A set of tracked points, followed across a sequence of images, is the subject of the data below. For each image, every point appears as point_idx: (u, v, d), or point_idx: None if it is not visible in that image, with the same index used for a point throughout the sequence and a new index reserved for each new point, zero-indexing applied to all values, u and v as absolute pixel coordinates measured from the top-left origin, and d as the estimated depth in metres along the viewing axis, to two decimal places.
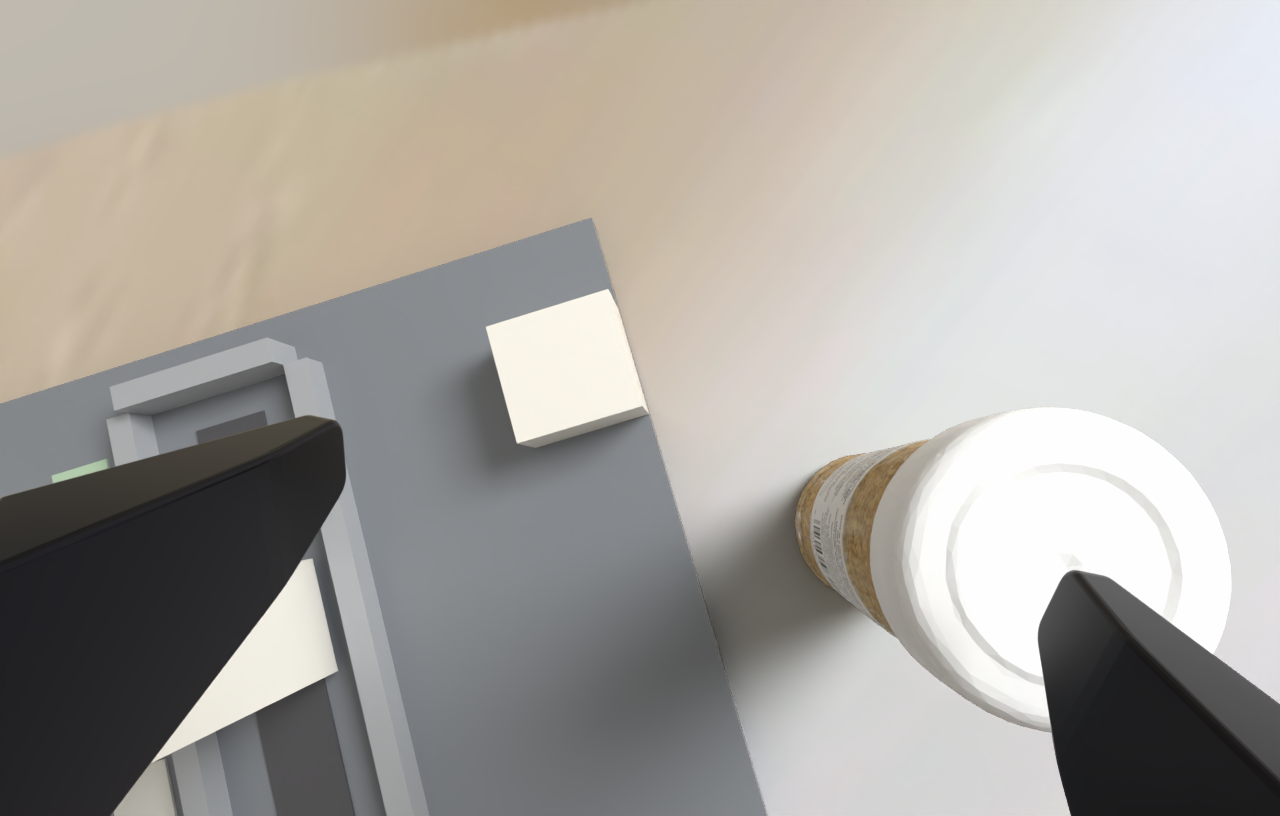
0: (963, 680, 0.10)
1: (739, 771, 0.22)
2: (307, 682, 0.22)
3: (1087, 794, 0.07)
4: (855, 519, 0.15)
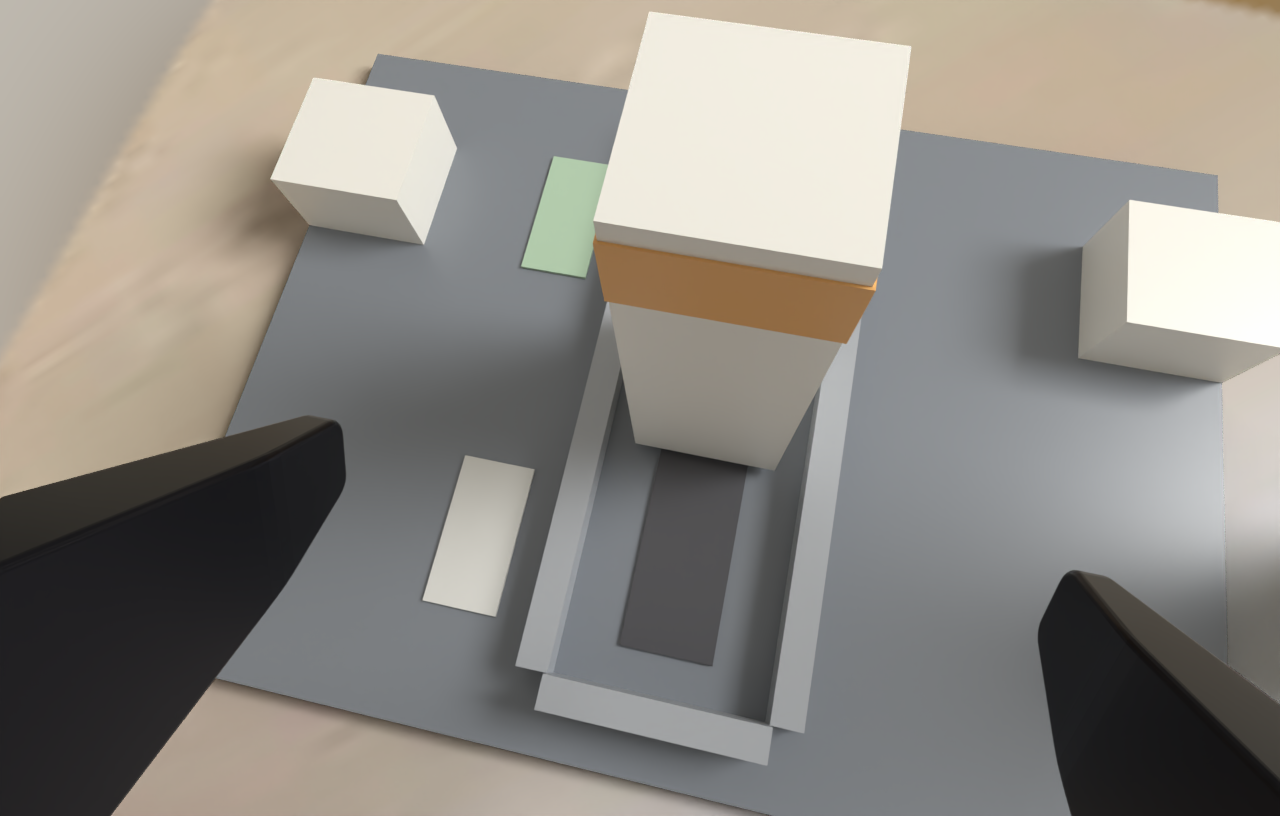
0: None
1: None
2: None
3: (1087, 794, 0.07)
4: None
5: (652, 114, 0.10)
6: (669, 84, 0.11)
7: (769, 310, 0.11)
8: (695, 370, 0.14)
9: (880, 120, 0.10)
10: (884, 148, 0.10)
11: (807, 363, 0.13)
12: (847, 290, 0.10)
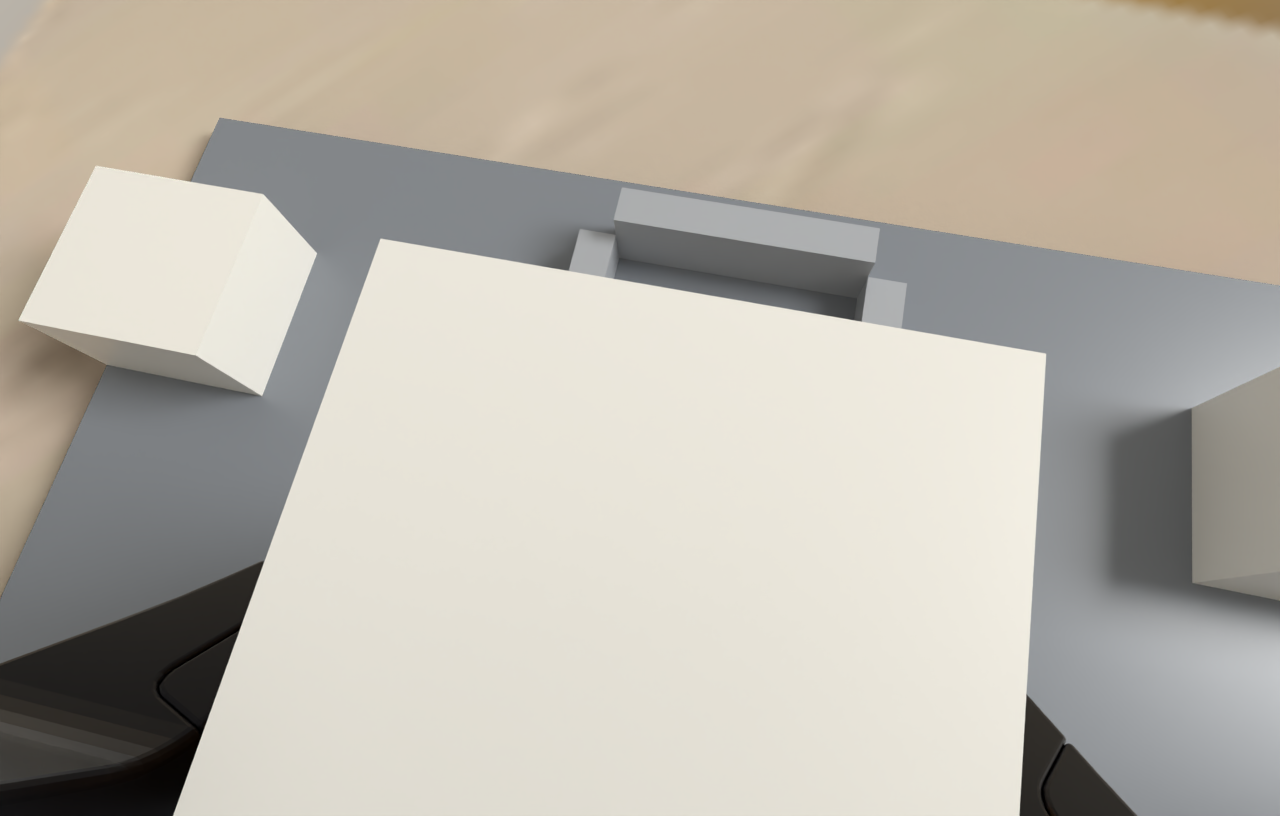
0: None
1: None
2: None
3: None
4: None
5: (349, 551, 0.04)
6: (405, 456, 0.04)
7: None
8: None
9: (971, 589, 0.04)
10: (986, 691, 0.04)
11: None
12: None
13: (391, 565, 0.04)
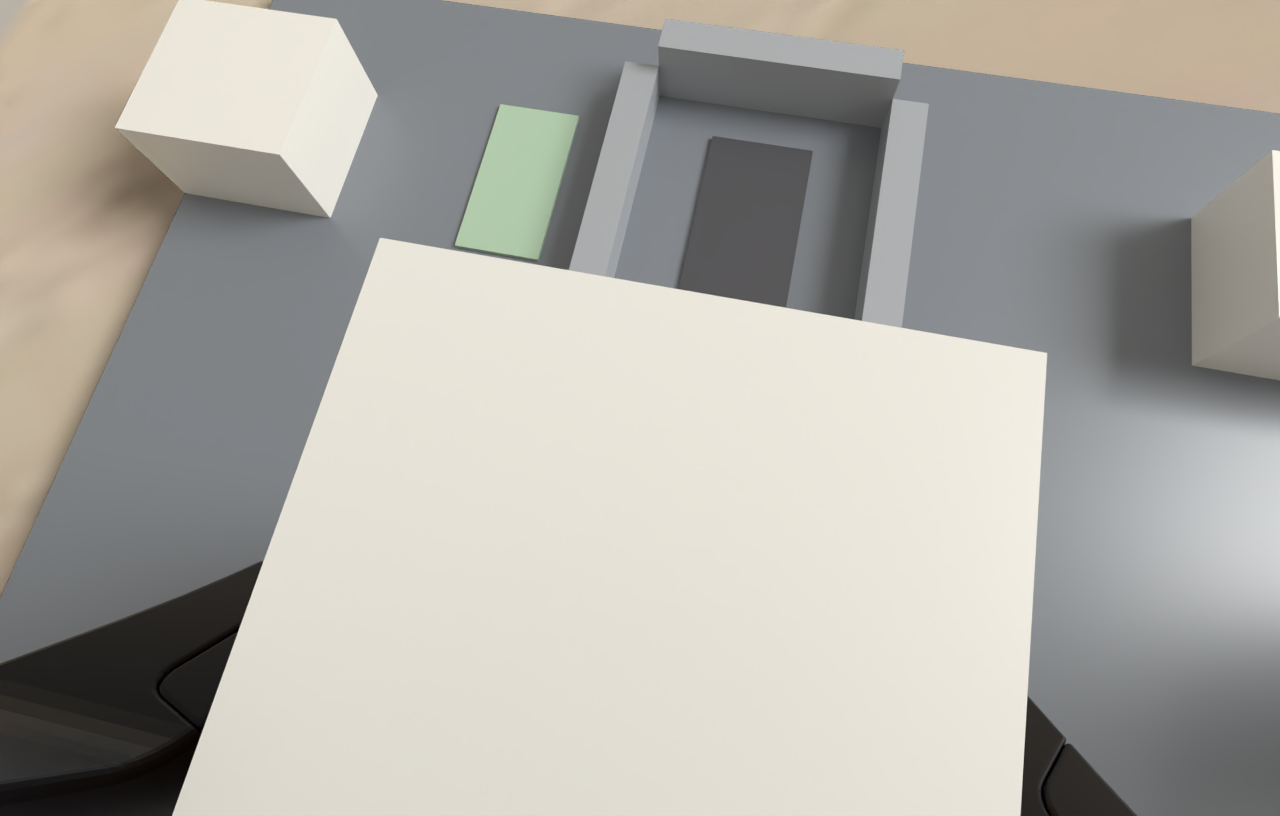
0: None
1: None
2: None
3: None
4: None
5: (348, 551, 0.04)
6: (404, 456, 0.04)
7: None
8: None
9: (972, 590, 0.04)
10: (987, 691, 0.04)
11: None
12: None
13: (390, 565, 0.04)
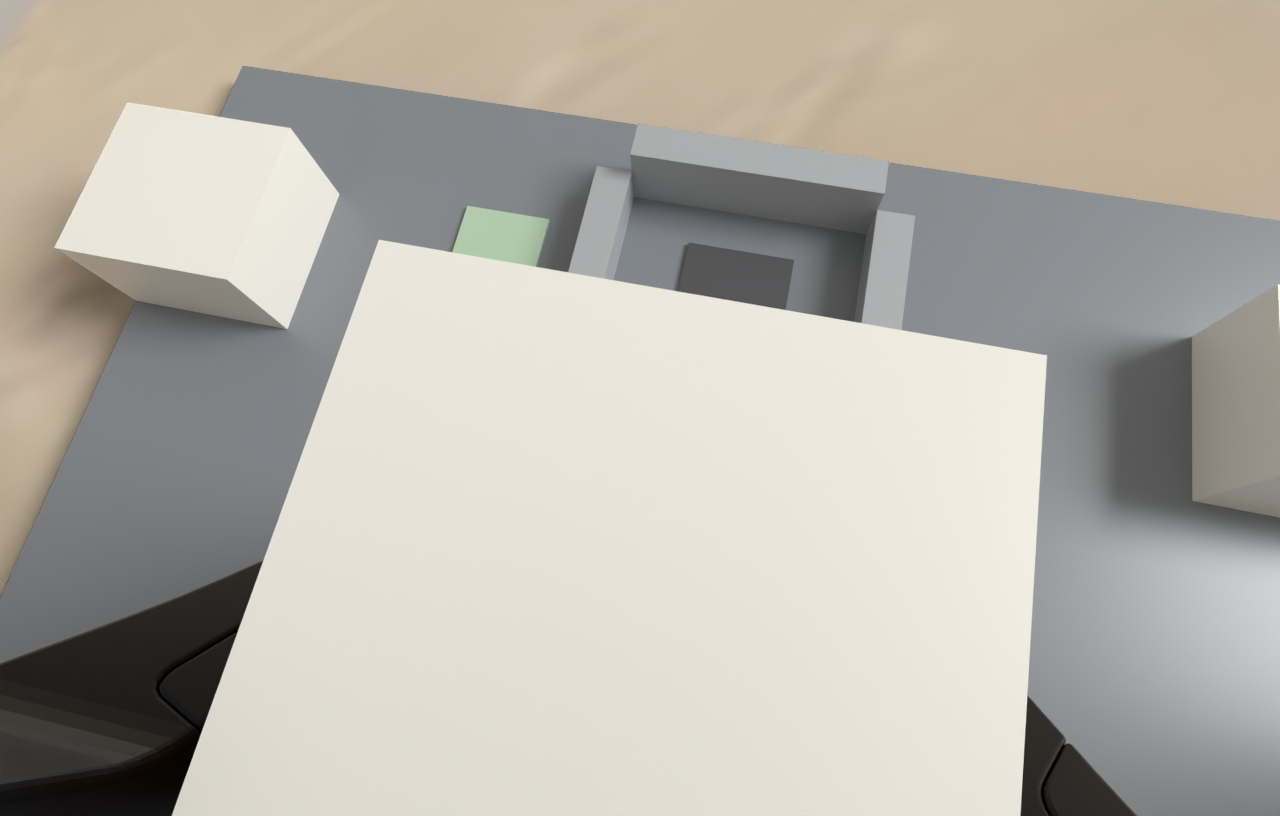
0: None
1: None
2: None
3: None
4: None
5: (347, 554, 0.04)
6: (403, 458, 0.04)
7: None
8: None
9: (974, 594, 0.04)
10: (987, 694, 0.04)
11: None
12: None
13: (389, 568, 0.04)
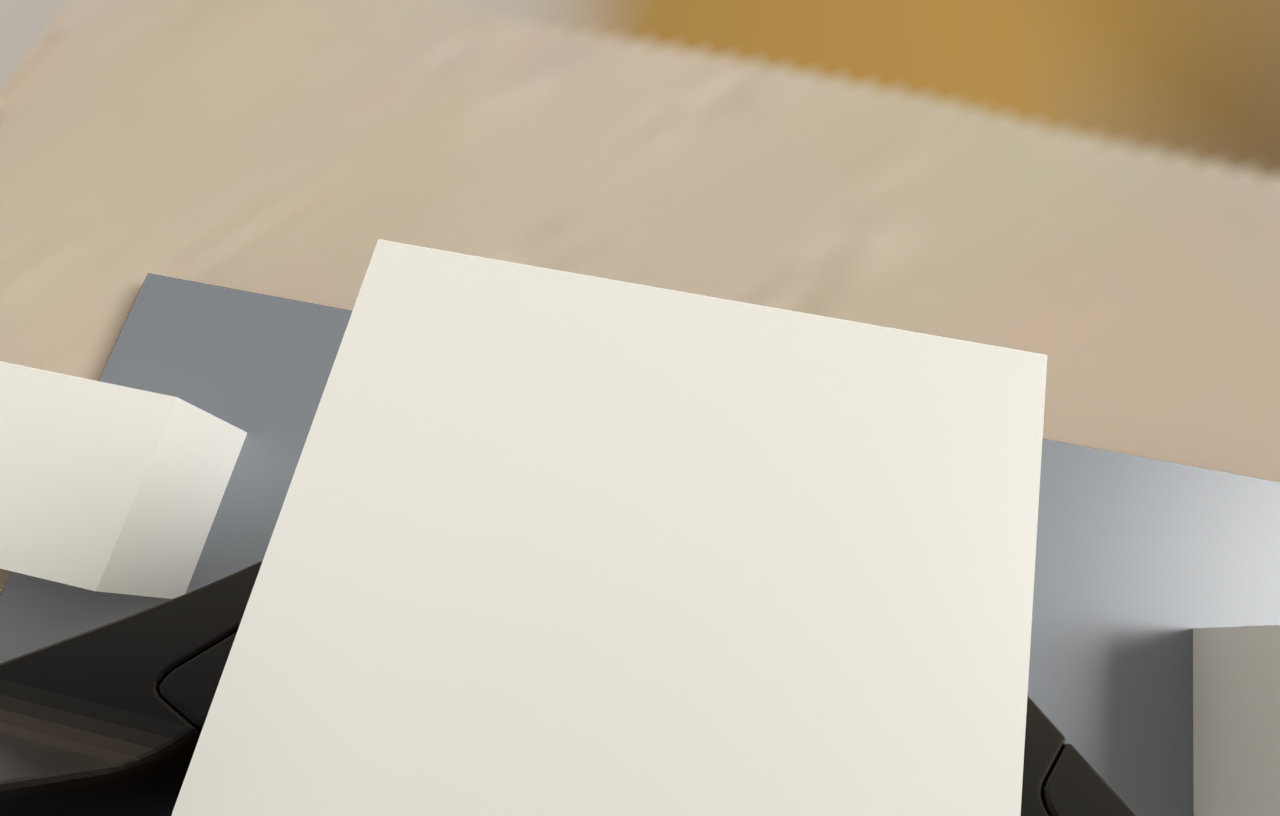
0: None
1: None
2: None
3: None
4: None
5: (347, 554, 0.04)
6: (403, 458, 0.04)
7: None
8: None
9: (975, 595, 0.04)
10: (987, 695, 0.04)
11: None
12: None
13: (389, 568, 0.04)
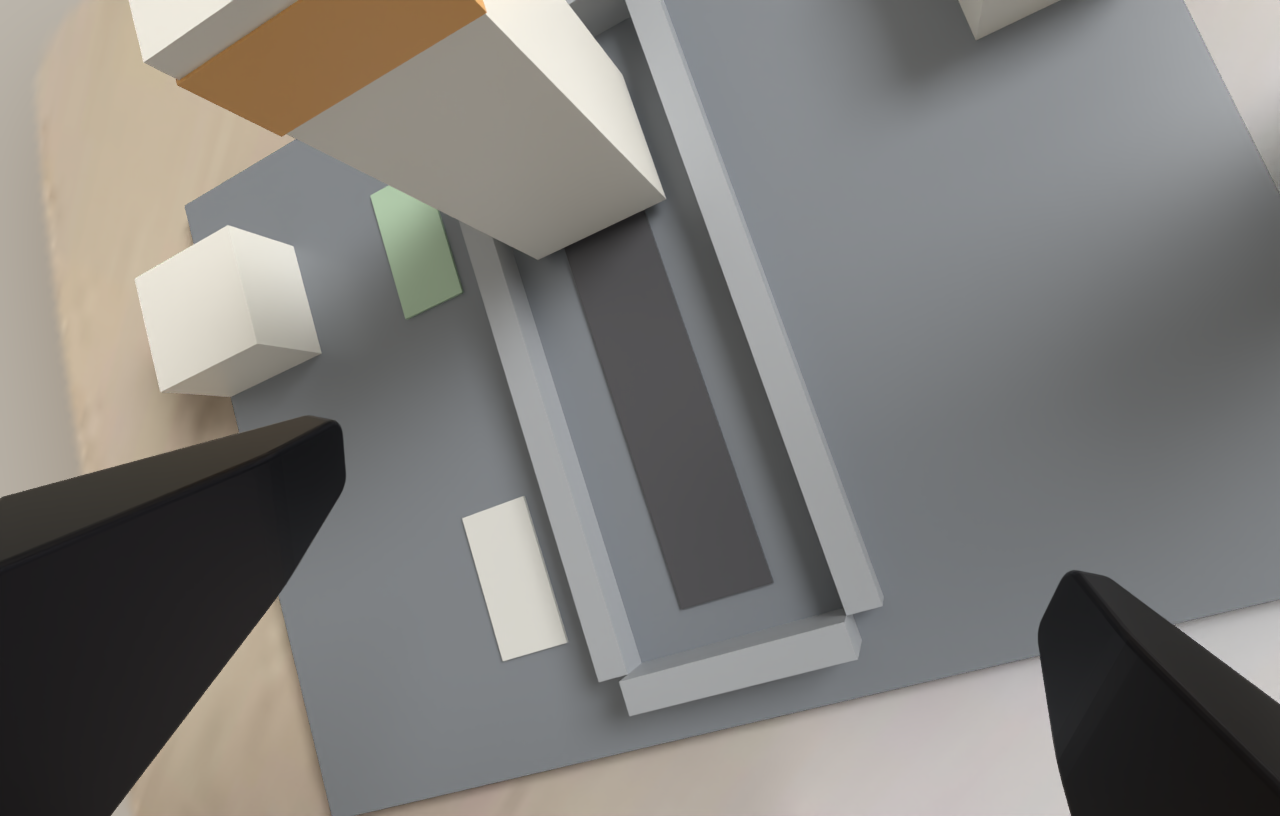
0: None
1: None
2: (641, 172, 0.17)
3: (1087, 794, 0.07)
4: None
5: None
6: None
7: (383, 32, 0.10)
8: (450, 147, 0.14)
9: None
10: None
11: (501, 63, 0.12)
12: None
13: None
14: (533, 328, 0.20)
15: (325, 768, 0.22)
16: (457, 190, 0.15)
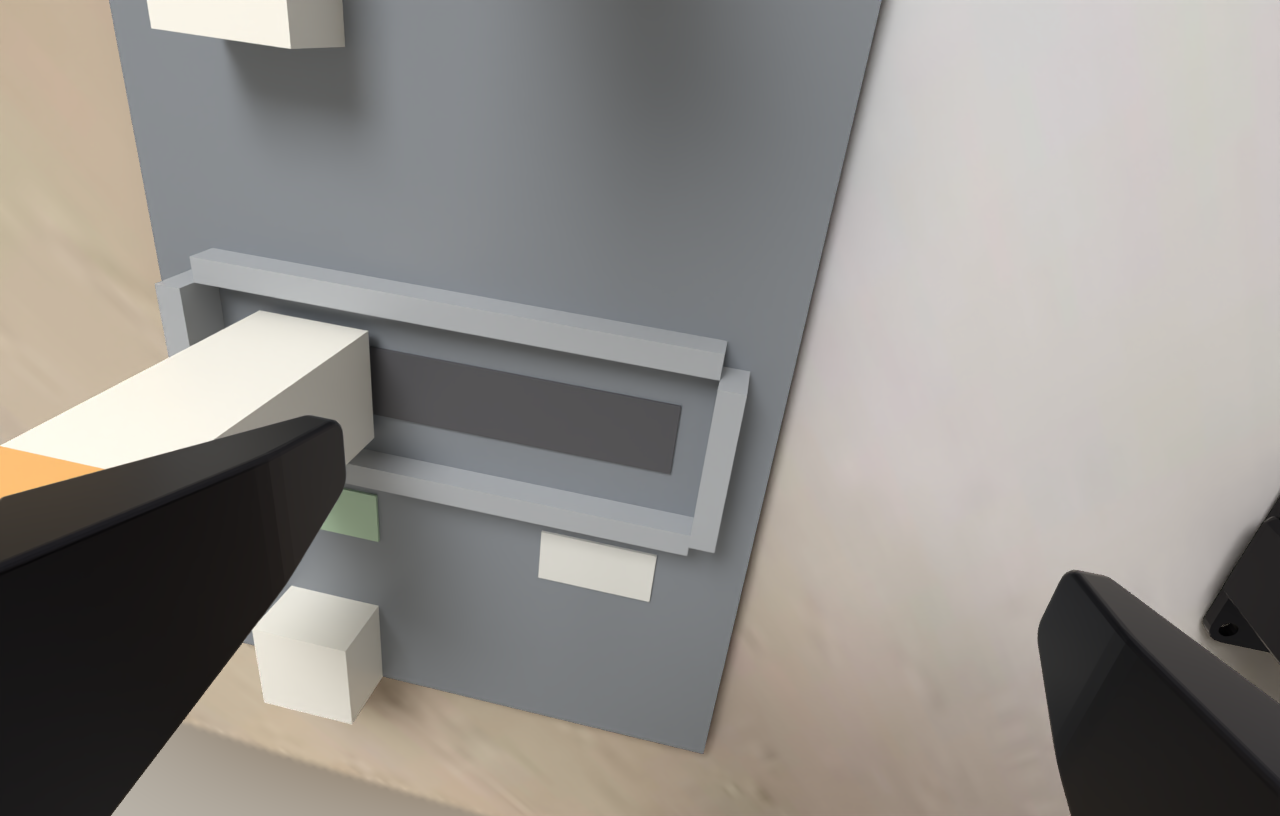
0: None
1: None
2: (334, 352, 0.21)
3: (1087, 794, 0.07)
4: None
5: None
6: None
7: None
8: None
9: None
10: None
11: None
12: None
13: None
14: (424, 464, 0.25)
15: (666, 741, 0.29)
16: None
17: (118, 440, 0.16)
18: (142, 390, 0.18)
